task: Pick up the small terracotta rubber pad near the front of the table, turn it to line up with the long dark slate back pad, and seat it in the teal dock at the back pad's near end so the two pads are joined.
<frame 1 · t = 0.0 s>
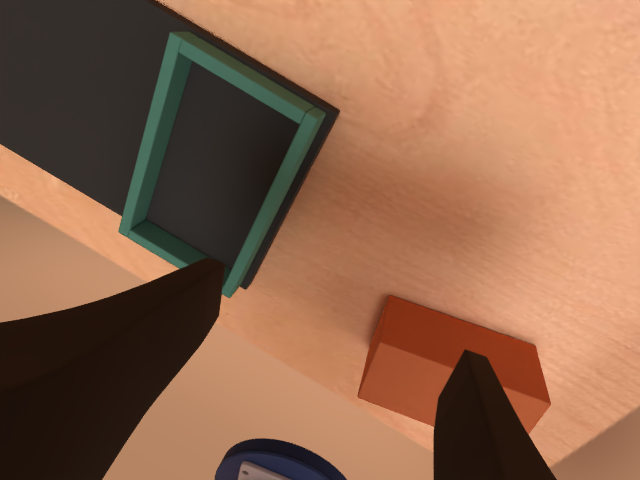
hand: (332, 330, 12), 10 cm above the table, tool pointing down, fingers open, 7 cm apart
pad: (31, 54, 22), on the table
pad piece: (447, 346, 24), on the table
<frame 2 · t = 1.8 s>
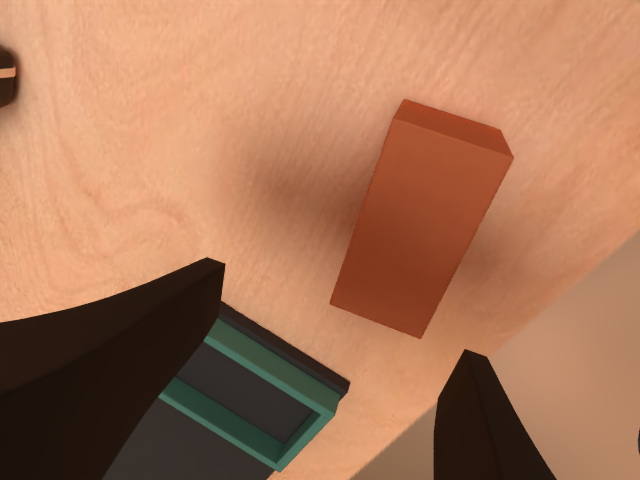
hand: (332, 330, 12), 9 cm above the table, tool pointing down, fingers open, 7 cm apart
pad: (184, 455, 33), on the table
pad piece: (415, 201, 19), on the table
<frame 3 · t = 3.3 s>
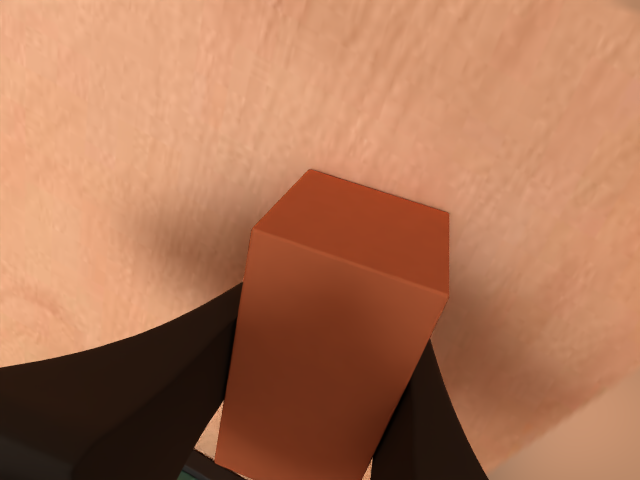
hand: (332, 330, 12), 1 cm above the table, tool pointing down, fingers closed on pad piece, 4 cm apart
pad piece: (342, 302, 13), on the table, touching gripper
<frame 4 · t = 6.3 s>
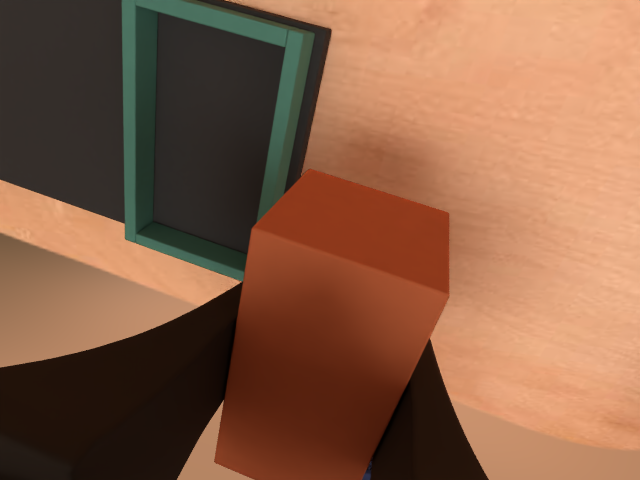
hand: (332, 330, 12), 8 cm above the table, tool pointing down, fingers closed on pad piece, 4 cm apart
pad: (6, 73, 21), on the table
pad piece: (342, 302, 13), point 7 cm above the table, touching gripper
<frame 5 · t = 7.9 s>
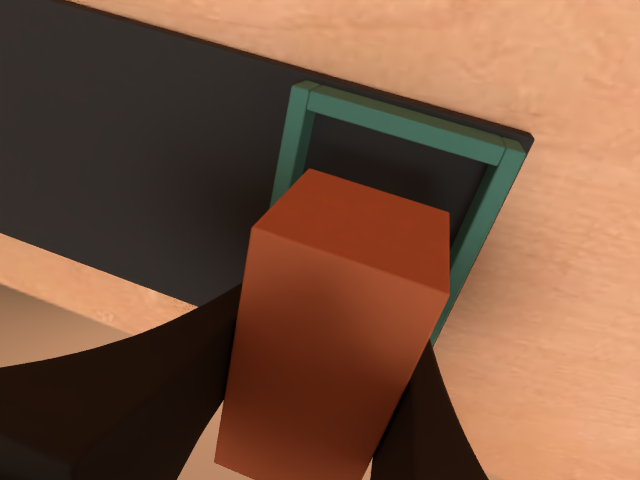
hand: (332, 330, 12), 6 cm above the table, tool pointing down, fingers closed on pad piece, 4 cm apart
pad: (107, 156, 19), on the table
pad piece: (342, 302, 13), point 4 cm above the table, touching gripper
when the fingers open (2 cm above the table, at t = 9.7 s): pad piece stays where it is, resting on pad.
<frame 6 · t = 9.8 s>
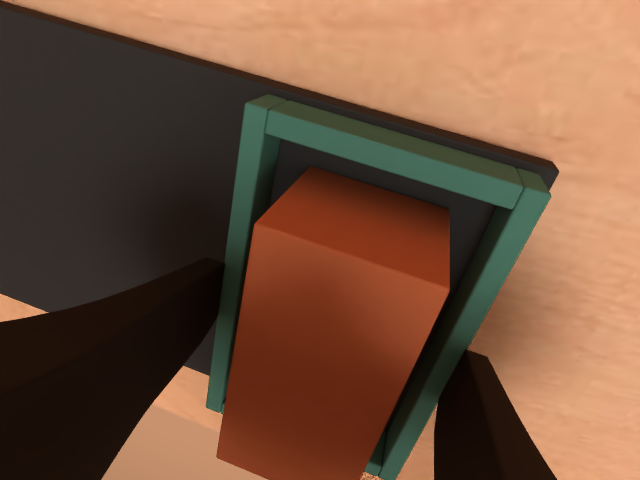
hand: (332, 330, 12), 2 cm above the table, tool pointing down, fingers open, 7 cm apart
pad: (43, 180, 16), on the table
pad piece: (343, 299, 14), point 1 cm above the table, touching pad
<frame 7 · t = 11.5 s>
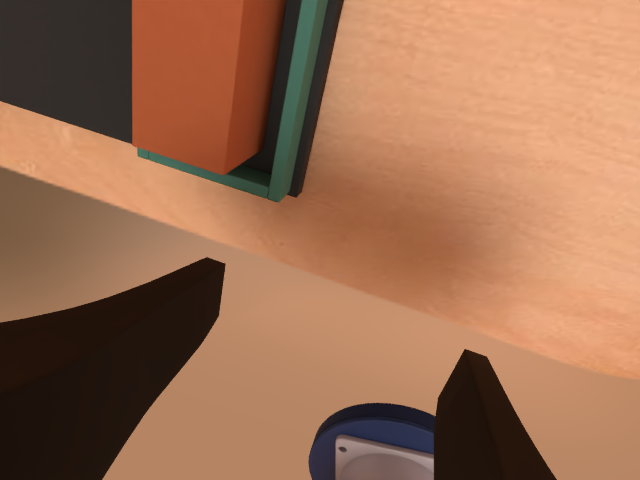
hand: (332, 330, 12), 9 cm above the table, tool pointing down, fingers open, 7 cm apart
pad piece: (233, 46, 18), point 1 cm above the table, touching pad
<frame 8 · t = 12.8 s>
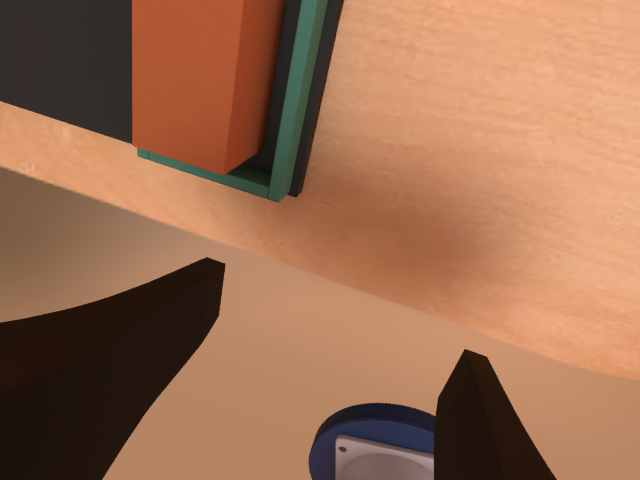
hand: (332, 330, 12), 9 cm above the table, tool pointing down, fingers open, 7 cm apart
pad piece: (233, 46, 18), point 1 cm above the table, touching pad
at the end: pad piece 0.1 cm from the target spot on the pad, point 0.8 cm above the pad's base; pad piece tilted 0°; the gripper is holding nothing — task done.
